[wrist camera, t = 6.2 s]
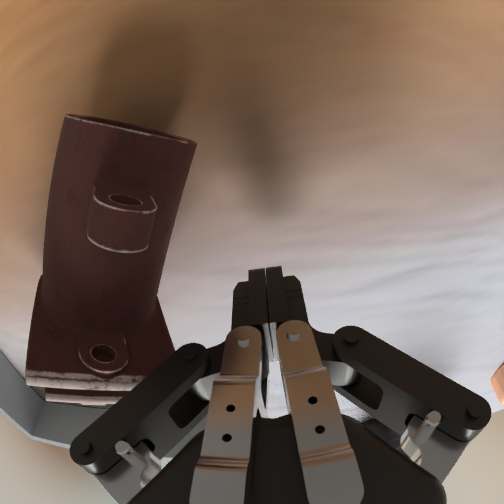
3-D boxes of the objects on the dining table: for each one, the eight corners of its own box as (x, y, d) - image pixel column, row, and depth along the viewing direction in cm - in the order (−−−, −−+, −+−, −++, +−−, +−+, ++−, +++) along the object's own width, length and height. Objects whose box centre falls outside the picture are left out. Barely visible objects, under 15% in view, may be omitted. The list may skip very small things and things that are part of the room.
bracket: (49, 360, 19) (54, 481, 11) (71, 111, 13) (31, 117, 5) (125, 364, 22) (158, 478, 14) (175, 133, 17) (254, 165, 9)
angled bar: (158, 73, 12) (117, 75, 8) (249, 414, 27) (250, 461, 23) (-88, 196, 14) (-124, 224, 9) (43, 405, 28) (30, 438, 24)
